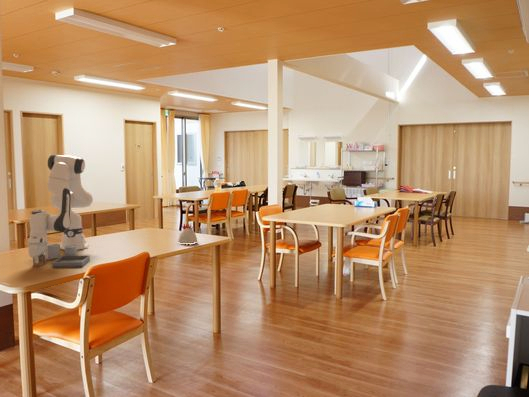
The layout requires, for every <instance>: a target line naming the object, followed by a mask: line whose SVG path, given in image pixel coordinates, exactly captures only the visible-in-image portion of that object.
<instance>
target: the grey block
mask: <svg viewBox="0 0 529 397" xmlns="http://www.w3.org/2000/svg"><path fill="white" fill-rule="evenodd" d="M64 256H78V250H77V246H74V245H72V246H65V250H64Z"/></svg>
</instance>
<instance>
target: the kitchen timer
mask: <svg viewBox="0 0 529 397" xmlns="http://www.w3.org/2000/svg"><path fill="white" fill-rule="evenodd" d="M181 226H182V229H183V230H182V231H181V232H180V233H179V236H178V239H177V243H178V242H180V243H194V242H197V243H198V237H197V235H196V232H195V231H194V230H193V228H194V226H192V224H189V223H183V225H181Z"/></svg>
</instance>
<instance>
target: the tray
mask: <svg viewBox="0 0 529 397" xmlns="http://www.w3.org/2000/svg"><path fill="white" fill-rule="evenodd" d="M90 261H91V257H90V255H77V256H65V255H60V258H56V259H55V260H54V261H52V265H51V266H52V268H53V269H59V268H60V267H62V269H64V267H65V268H66V267H68V268H71V267H72V268H83V267H84V266H86V264H88V262H90ZM72 268H71V269H72ZM60 269H61V268H60Z"/></svg>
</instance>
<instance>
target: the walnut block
mask: <svg viewBox="0 0 529 397" xmlns="http://www.w3.org/2000/svg"><path fill="white" fill-rule="evenodd" d="M38 258H39V263H35V259H34V257H32V265H33V267H34V266H35V267H36V266H39V267H40V266H44V265H46V259H45V254H44V255H39V257H38Z"/></svg>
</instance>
